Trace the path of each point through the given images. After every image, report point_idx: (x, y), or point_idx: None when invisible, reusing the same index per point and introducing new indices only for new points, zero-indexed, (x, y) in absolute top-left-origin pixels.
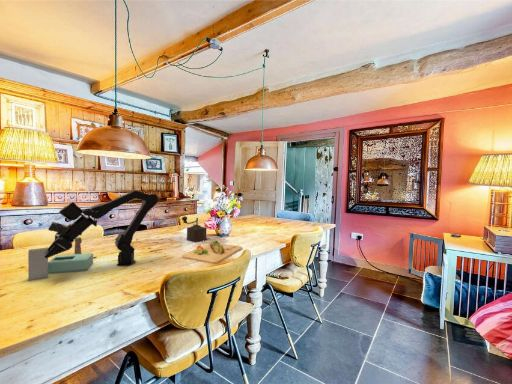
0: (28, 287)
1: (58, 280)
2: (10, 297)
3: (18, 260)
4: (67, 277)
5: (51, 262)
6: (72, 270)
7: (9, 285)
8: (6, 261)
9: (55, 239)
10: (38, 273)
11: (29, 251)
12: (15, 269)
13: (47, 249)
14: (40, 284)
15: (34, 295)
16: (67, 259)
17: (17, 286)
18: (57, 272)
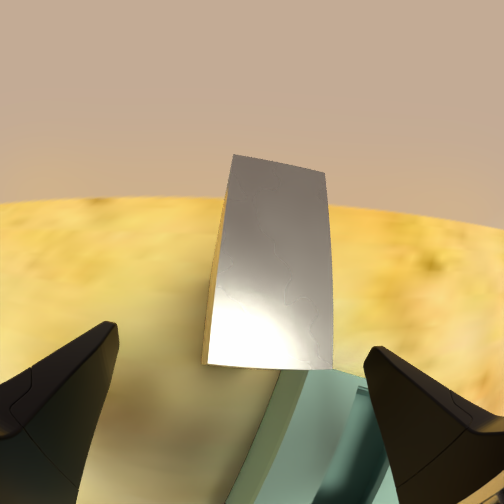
0: (106, 272)
1: (113, 401)
2: (51, 214)
3: (485, 256)
4: (137, 446)
5: (301, 390)
6: (236, 483)
7: (201, 211)
8: (481, 229)
9: (486, 440)
10: (206, 315)
11: (231, 165)
12: (415, 243)
13: (207, 361)
14: (109, 320)
15: (7, 280)
16: (314, 482)
17: (159, 235)
18: (264, 414)
